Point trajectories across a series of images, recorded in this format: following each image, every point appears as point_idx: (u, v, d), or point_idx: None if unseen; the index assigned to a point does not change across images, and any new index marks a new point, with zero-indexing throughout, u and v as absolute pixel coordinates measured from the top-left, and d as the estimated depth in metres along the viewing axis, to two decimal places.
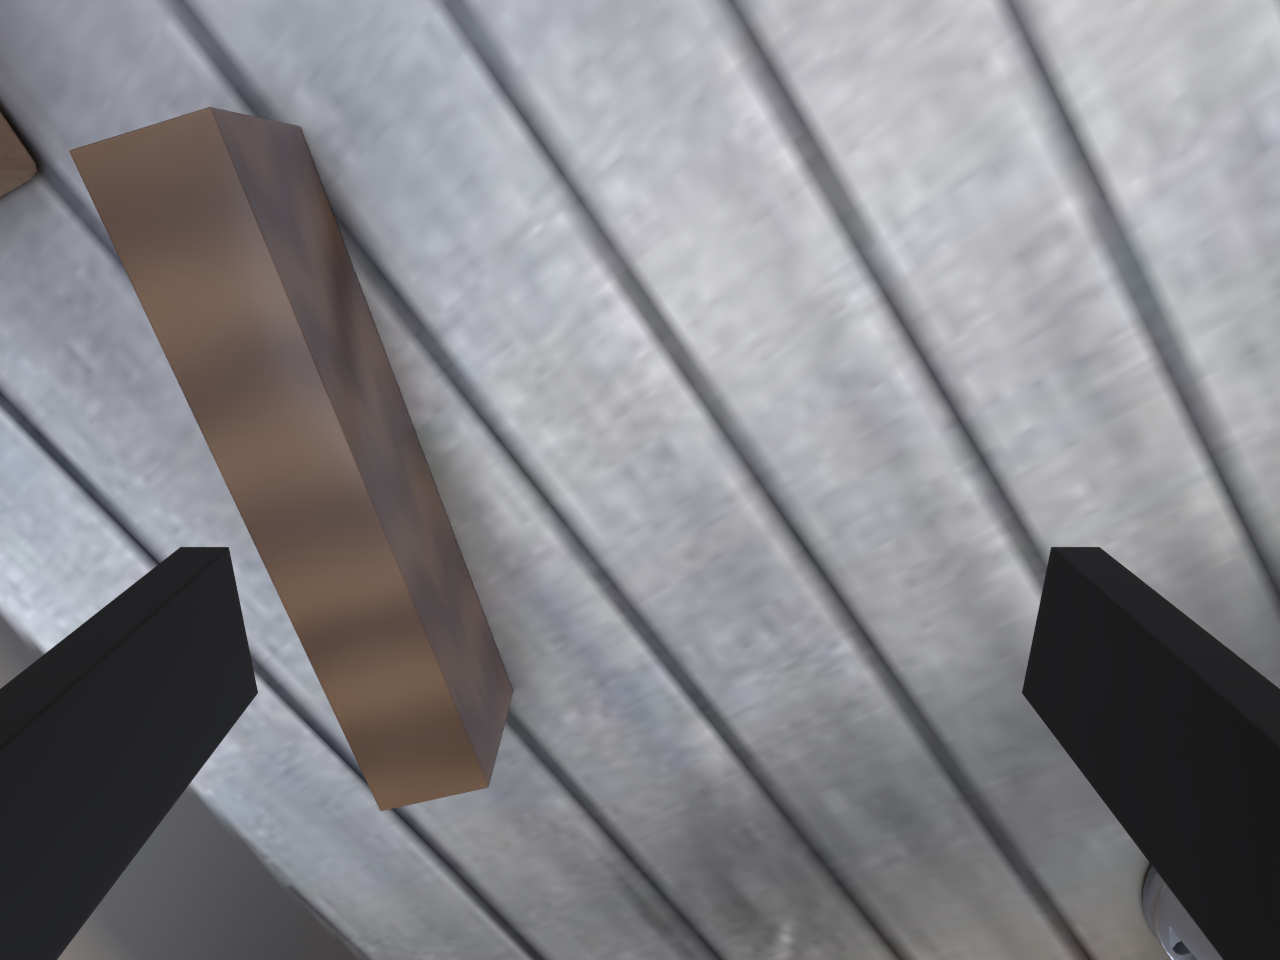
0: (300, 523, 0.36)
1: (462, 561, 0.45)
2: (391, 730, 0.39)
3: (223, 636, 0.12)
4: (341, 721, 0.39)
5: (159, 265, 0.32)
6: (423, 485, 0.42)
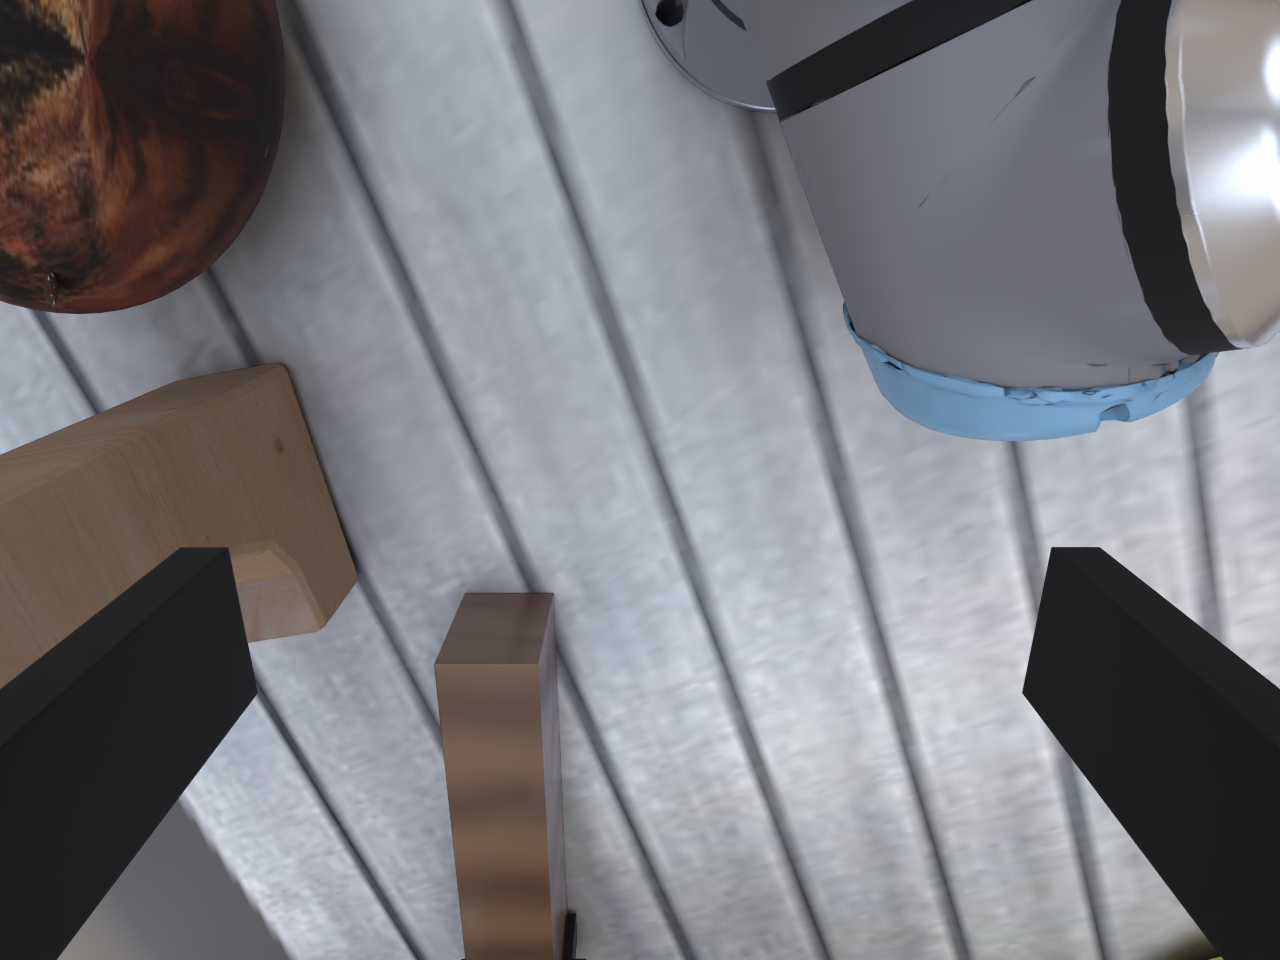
0: (495, 887, 0.51)
1: (564, 867, 0.61)
2: None
3: (223, 636, 0.12)
4: None
5: (465, 734, 0.47)
6: (560, 827, 0.58)
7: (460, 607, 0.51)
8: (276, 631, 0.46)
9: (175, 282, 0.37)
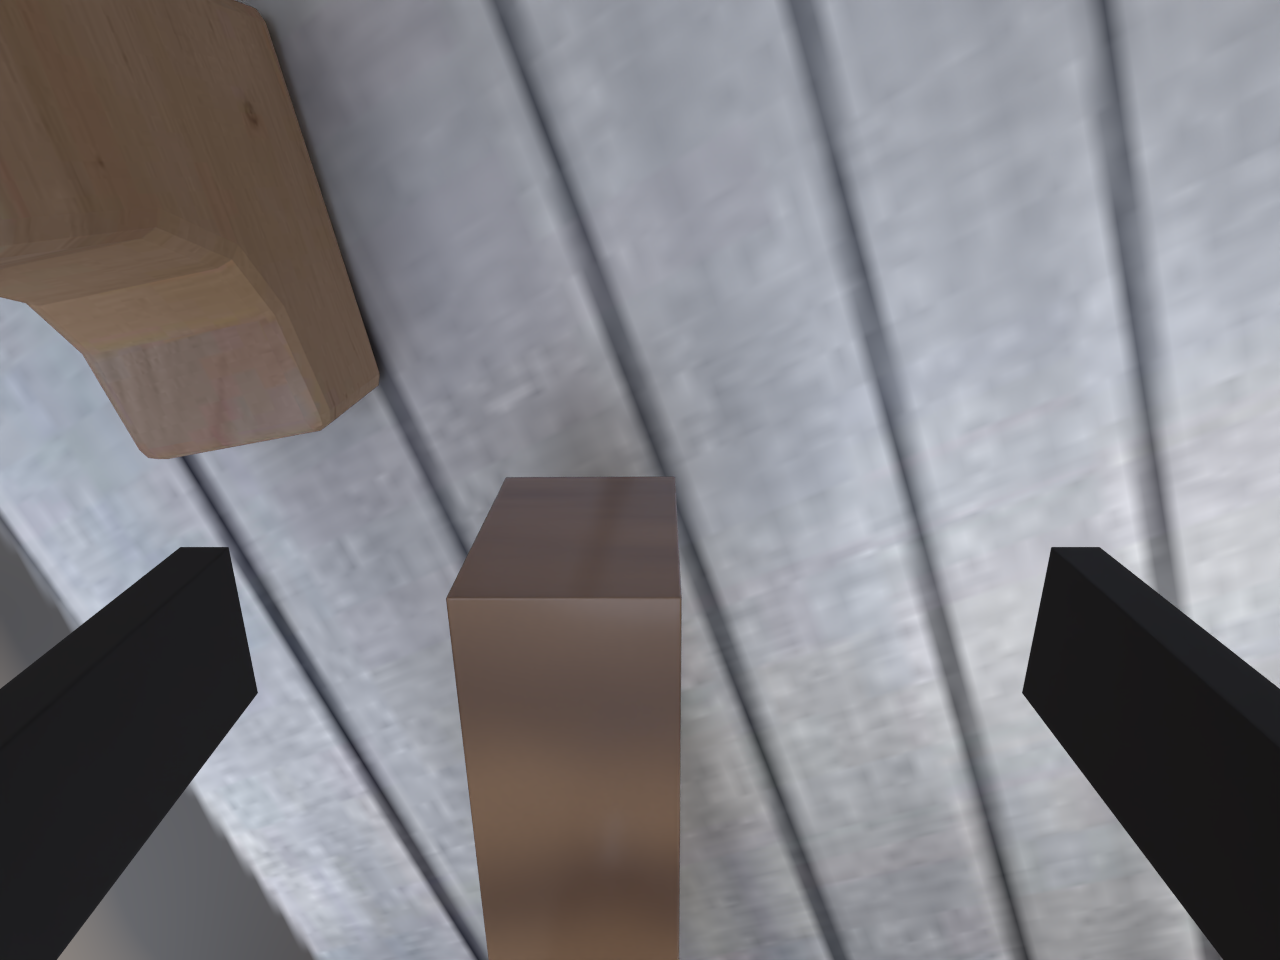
0: None
1: None
2: None
3: (223, 636, 0.12)
4: None
5: (516, 752, 0.22)
6: None
7: (498, 498, 0.26)
8: (253, 427, 0.29)
9: None
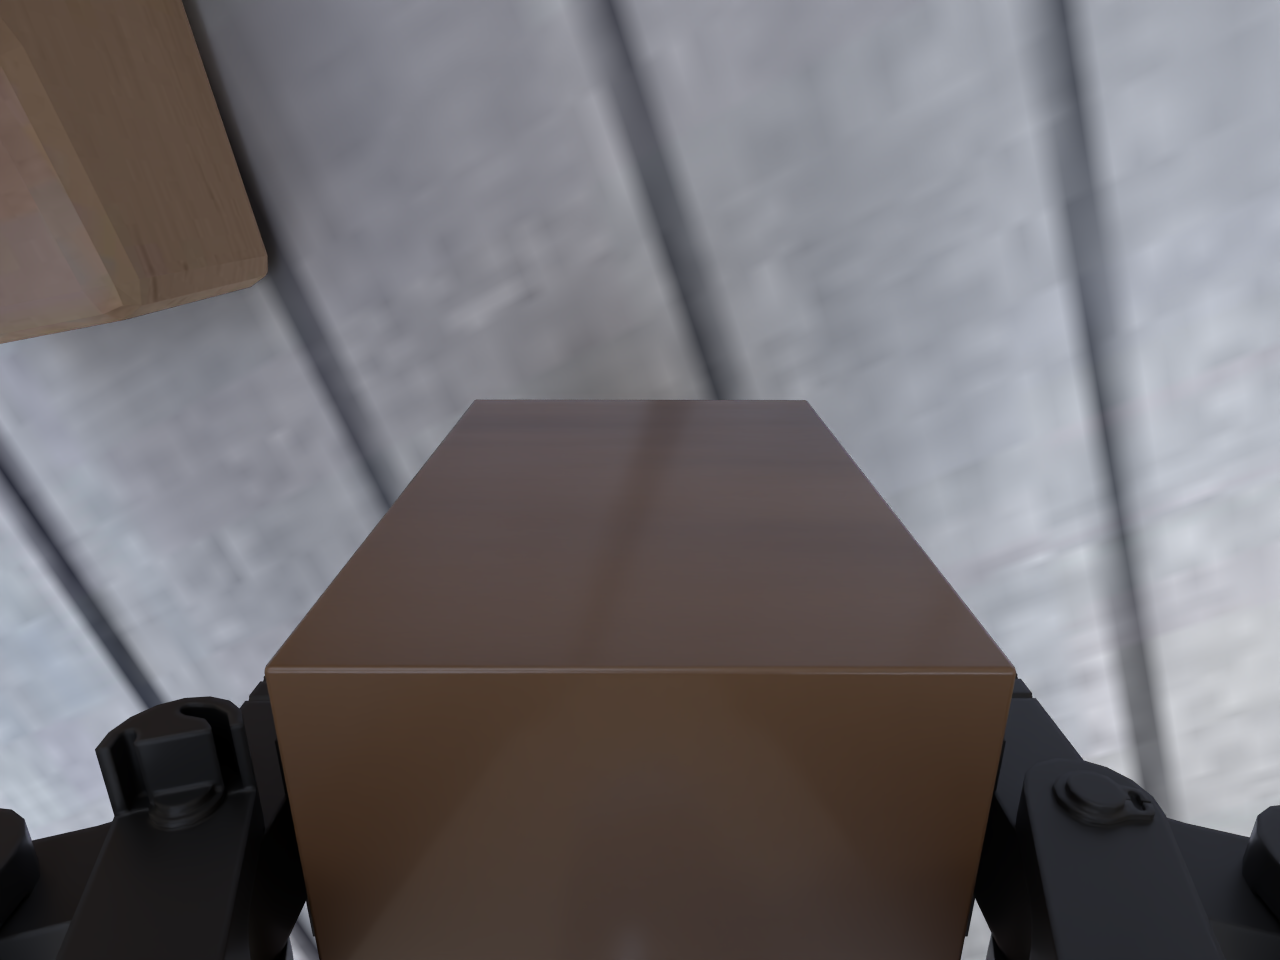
0: None
1: None
2: None
3: None
4: None
5: None
6: None
7: (457, 430, 0.12)
8: None
9: None
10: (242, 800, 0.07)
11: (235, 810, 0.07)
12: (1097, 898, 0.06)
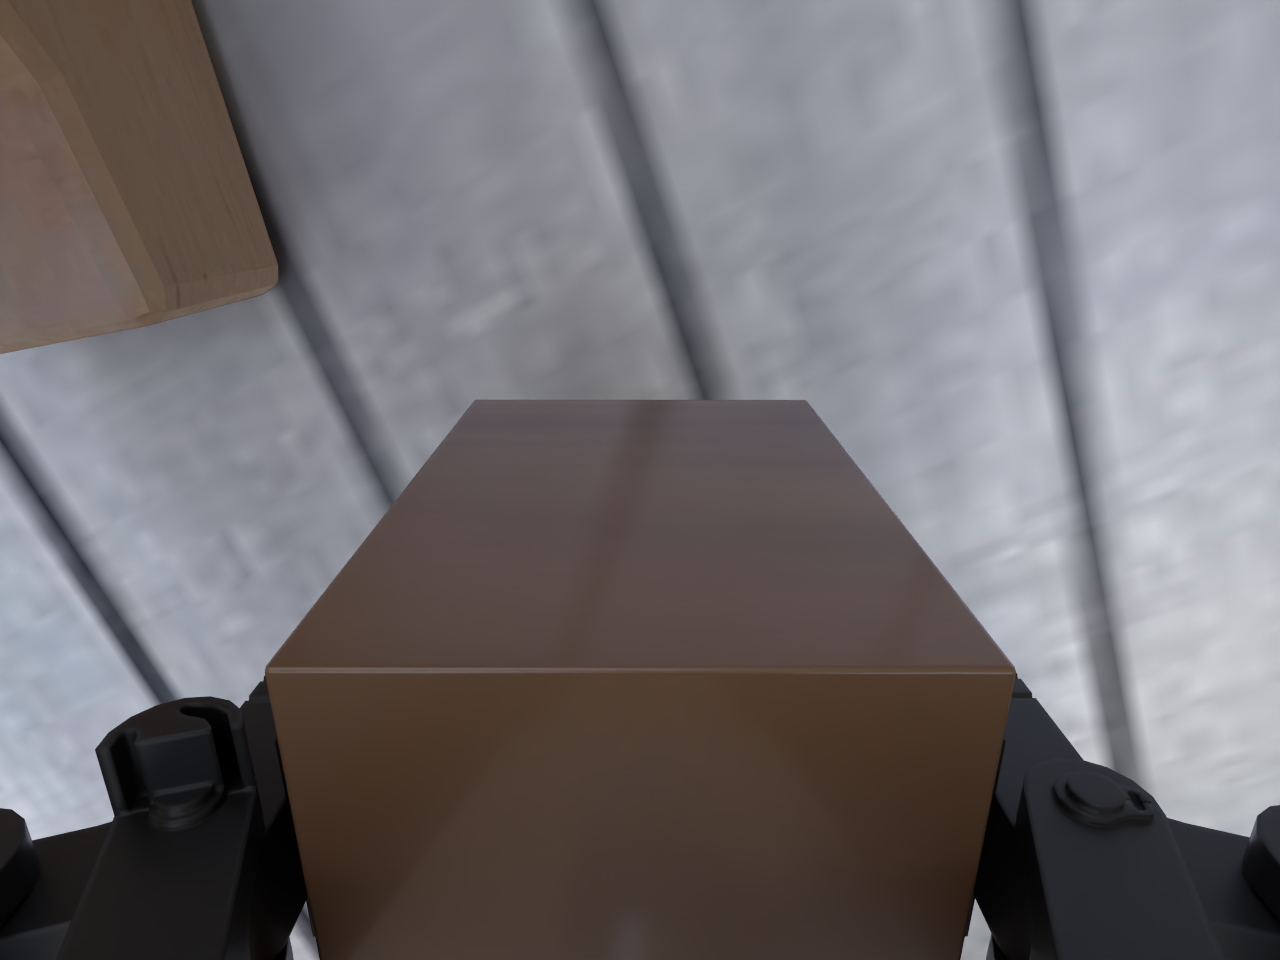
0: None
1: None
2: None
3: None
4: None
5: None
6: None
7: (457, 430, 0.12)
8: (21, 312, 0.16)
9: None
10: (242, 800, 0.07)
11: (235, 810, 0.07)
12: (1097, 898, 0.06)
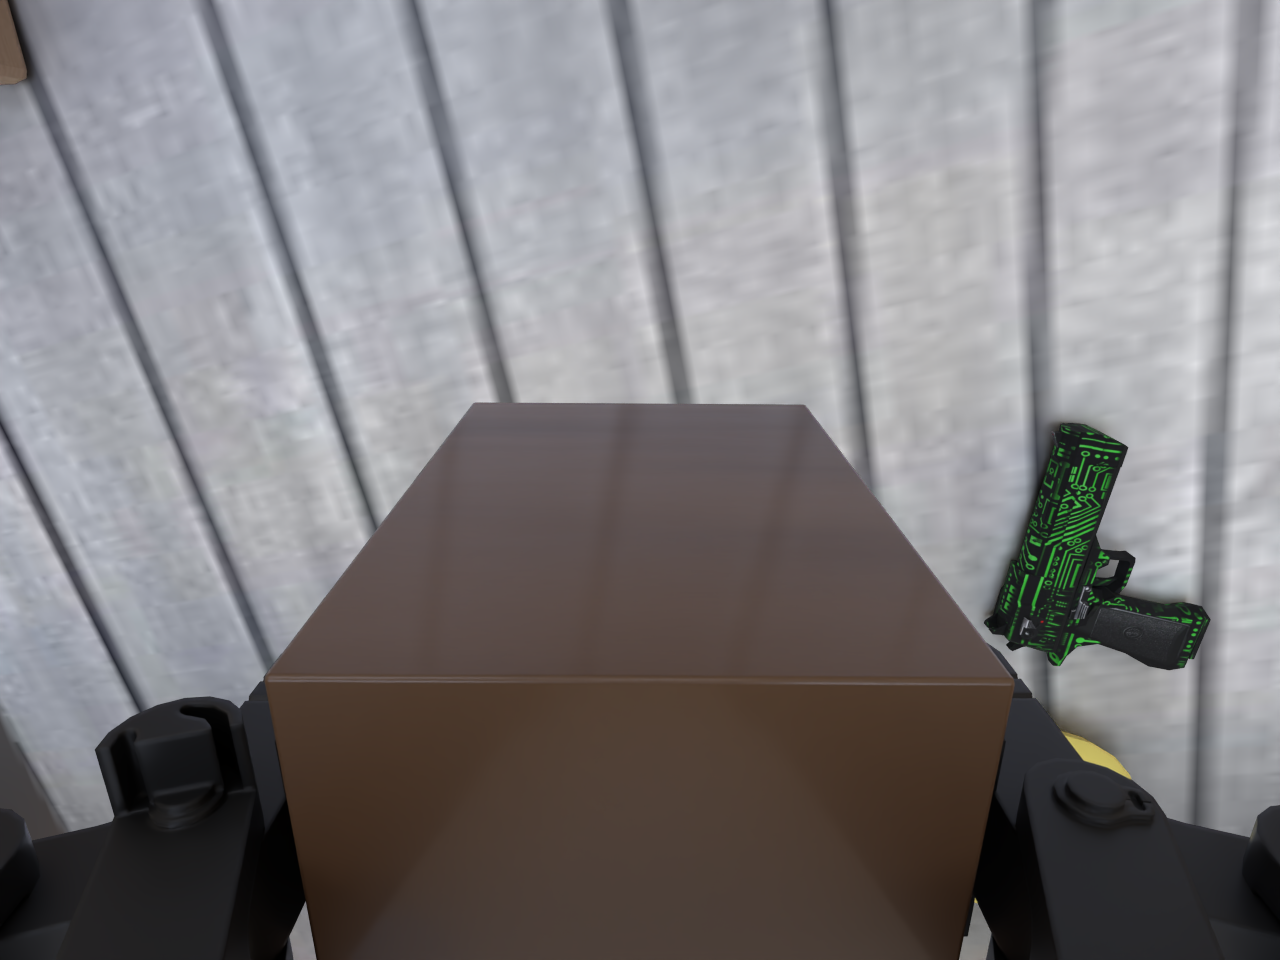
0: None
1: None
2: None
3: None
4: None
5: None
6: None
7: (456, 434, 0.12)
8: None
9: None
10: (242, 800, 0.07)
11: (235, 810, 0.07)
12: (1097, 898, 0.06)
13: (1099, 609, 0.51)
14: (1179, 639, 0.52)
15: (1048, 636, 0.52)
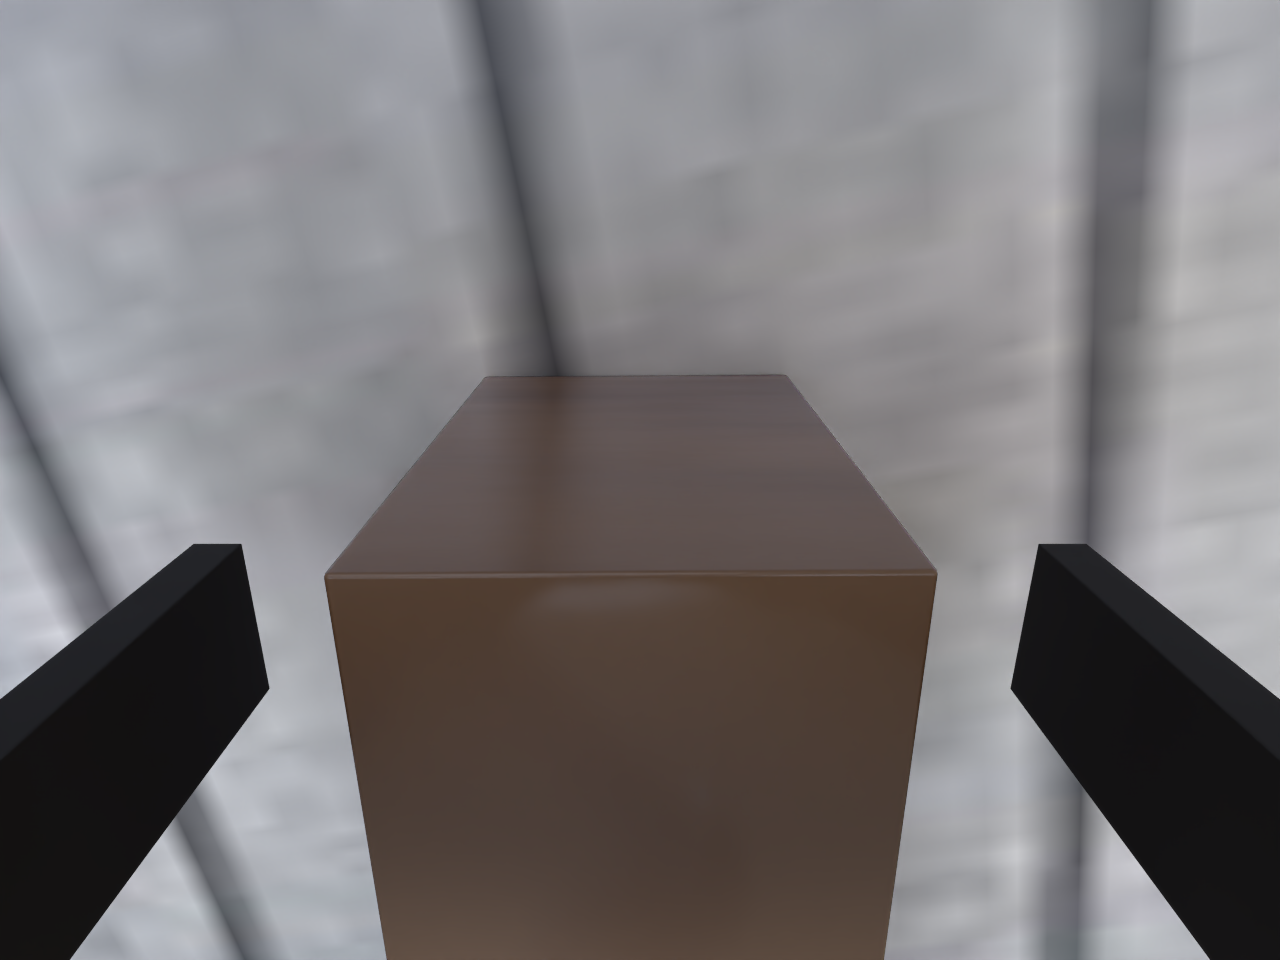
0: None
1: None
2: None
3: (236, 632, 0.12)
4: None
5: (505, 941, 0.09)
6: None
7: (470, 402, 0.14)
8: None
9: None
10: None
11: None
12: None
13: None
14: None
15: None
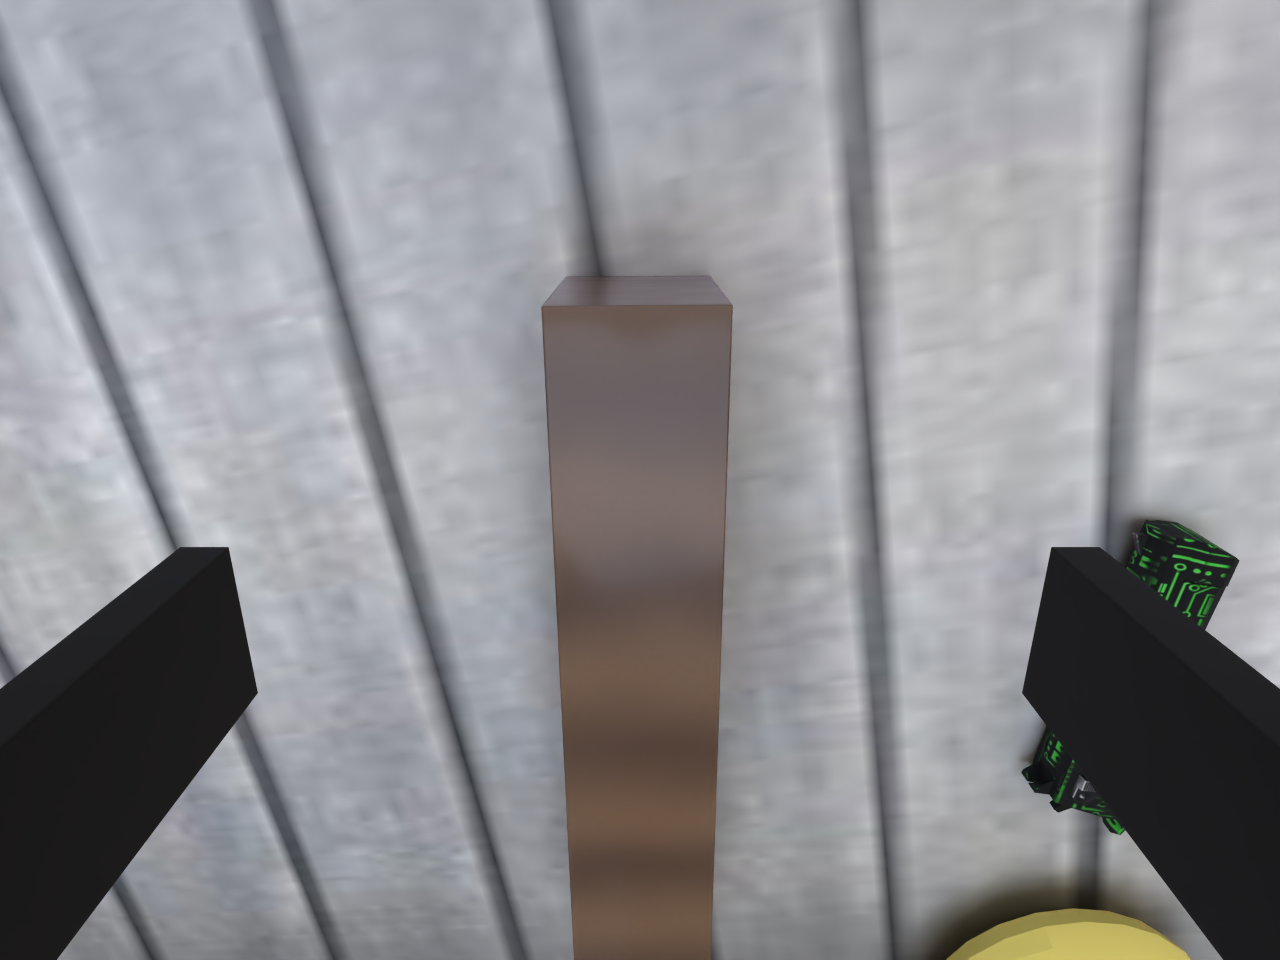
0: (626, 747, 0.30)
1: None
2: None
3: (223, 636, 0.12)
4: (577, 945, 0.34)
5: (592, 453, 0.26)
6: None
7: (564, 282, 0.31)
8: None
9: None
10: None
11: None
12: None
13: None
14: None
15: None
